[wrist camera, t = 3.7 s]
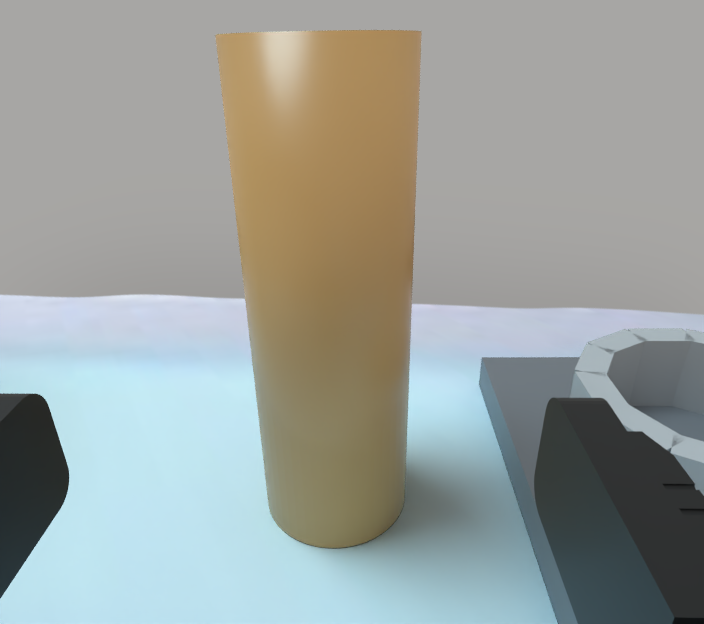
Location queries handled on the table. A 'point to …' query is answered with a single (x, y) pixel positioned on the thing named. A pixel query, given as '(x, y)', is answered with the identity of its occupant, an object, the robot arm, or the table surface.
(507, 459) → the housing
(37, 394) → the robot arm
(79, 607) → the table surface
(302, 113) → the cylinder
